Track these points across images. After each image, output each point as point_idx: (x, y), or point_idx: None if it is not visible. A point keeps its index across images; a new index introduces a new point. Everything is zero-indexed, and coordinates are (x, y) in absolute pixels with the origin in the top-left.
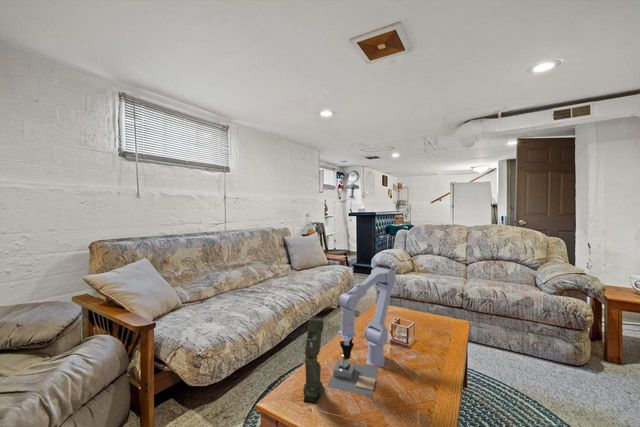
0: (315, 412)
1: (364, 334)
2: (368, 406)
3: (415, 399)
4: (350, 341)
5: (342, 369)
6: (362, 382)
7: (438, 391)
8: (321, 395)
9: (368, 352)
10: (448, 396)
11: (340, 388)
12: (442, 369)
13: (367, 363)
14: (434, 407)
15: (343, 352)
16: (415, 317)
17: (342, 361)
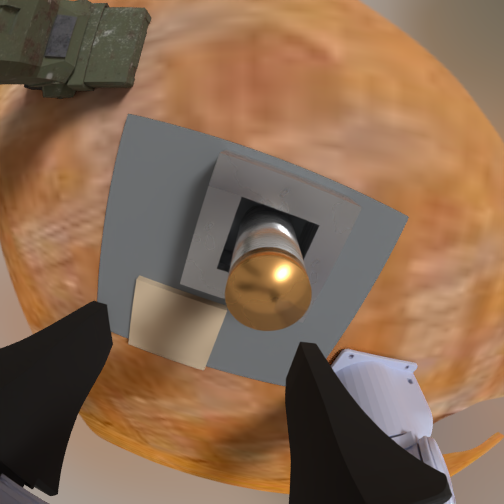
0: (6, 98)
1: (429, 461)
2: (57, 298)
3: (135, 420)
4: (296, 457)
5: (221, 227)
6: (166, 315)
7: (184, 459)
8: (65, 97)
9: (370, 398)
10: (169, 463)
11: (116, 193)
12: (277, 481)
13: (344, 357)
14: (121, 434)
15: (37, 335)
16: (494, 438)
17: (237, 250)
